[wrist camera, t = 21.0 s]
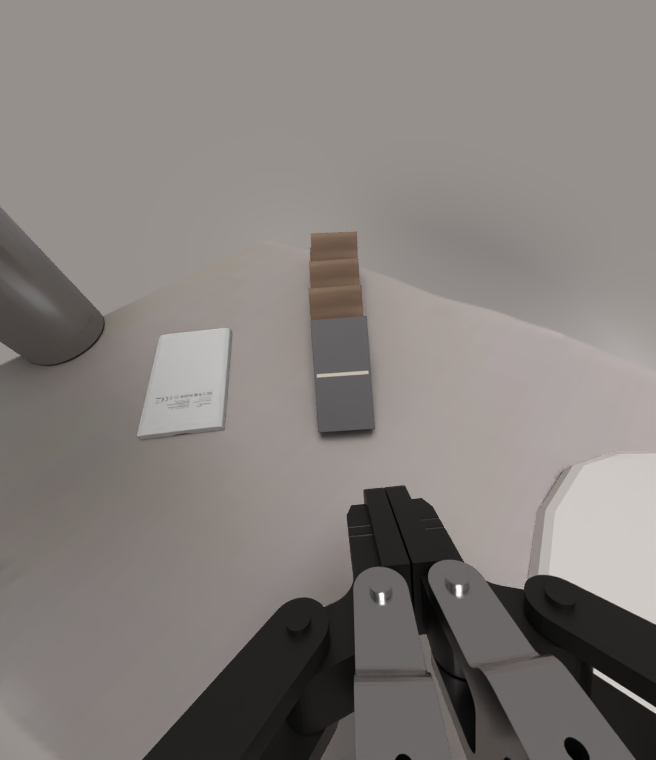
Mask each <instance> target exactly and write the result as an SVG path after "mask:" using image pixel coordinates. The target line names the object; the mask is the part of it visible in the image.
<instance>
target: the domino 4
mask: <svg viewBox="0 0 656 760" xmlns="http://www.w3.org/2000/svg"><path fill="white" fill-rule="evenodd" d="M311 331H312V346H313V361H314V375H315V390H316V405H317V419H318V432H330V431H345V430H360V429H375V425H374V411H373V398H372V384H371V370H370V356H369V342H368V328H367V316H364V317H350V318H336V319H323V320H311Z"/></svg>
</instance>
